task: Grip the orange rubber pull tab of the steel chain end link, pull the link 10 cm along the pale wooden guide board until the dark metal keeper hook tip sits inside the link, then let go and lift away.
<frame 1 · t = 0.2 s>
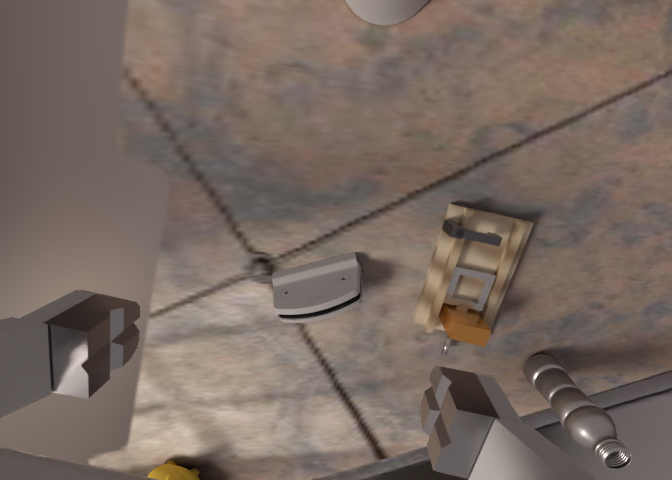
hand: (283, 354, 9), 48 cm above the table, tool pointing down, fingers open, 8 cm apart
teapot: (182, 469, 75), on the table
plastic bottle: (536, 363, 62), on the table
guide board: (467, 273, 58), on the table
grey rounded slab: (319, 280, 60), on the table
chain end link: (464, 319, 55), point 5 cm above the table, slide at 0.0 cm
keeper hook: (471, 233, 52), point 4 cm above the table
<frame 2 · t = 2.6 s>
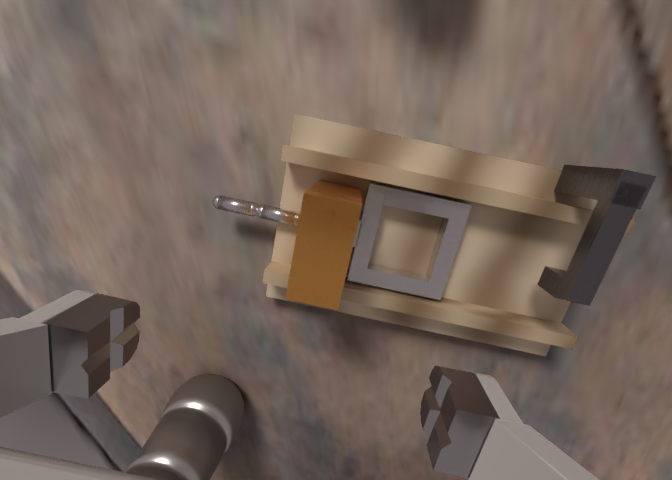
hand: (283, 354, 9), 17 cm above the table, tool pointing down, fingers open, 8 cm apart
plastic bottle: (218, 391, 31), on the table
guide board: (426, 239, 25), on the table
chain end link: (339, 239, 20), point 5 cm above the table, slide at 0.0 cm
keeper hook: (576, 233, 20), point 4 cm above the table
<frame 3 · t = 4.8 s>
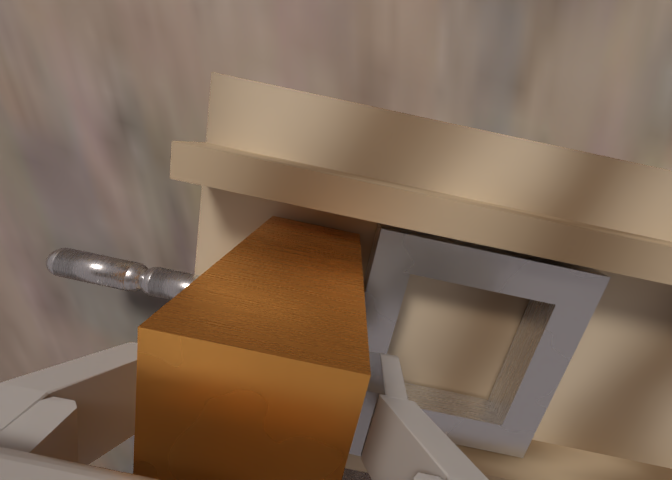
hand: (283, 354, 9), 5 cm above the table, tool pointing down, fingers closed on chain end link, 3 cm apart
guide board: (484, 322, 13), on the table
chain end link: (308, 372, 8), point 5 cm above the table, slide at 0.0 cm, touching gripper
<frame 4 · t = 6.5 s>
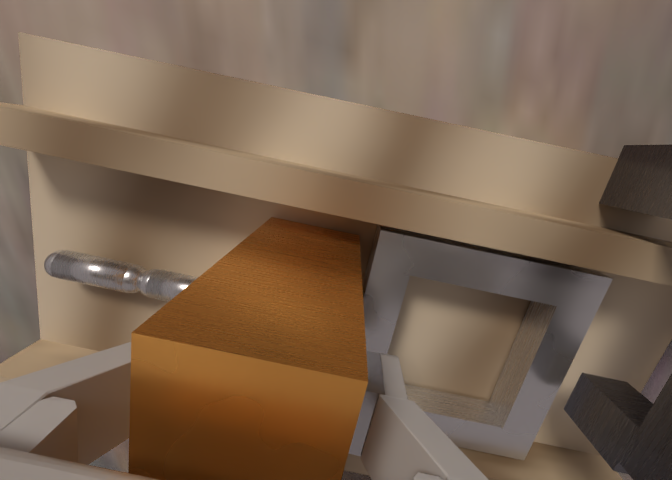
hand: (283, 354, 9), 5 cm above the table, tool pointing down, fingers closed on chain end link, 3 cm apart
guide board: (344, 294, 13), on the table
chain end link: (307, 375, 8), point 5 cm above the table, slide at 5.9 cm, touching gripper
keeper hook: (664, 309, 8), point 4 cm above the table
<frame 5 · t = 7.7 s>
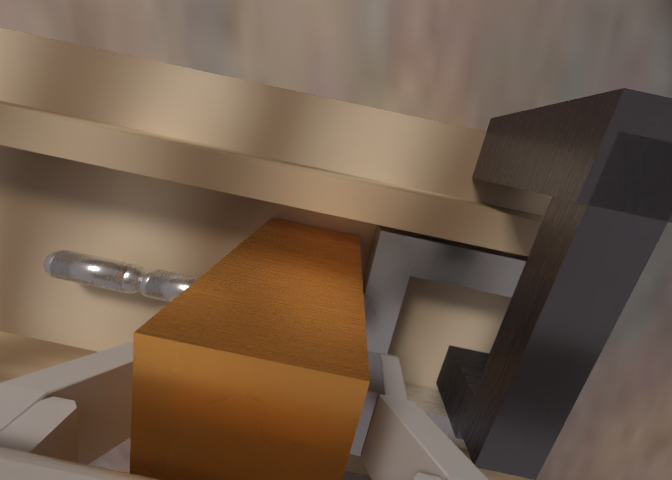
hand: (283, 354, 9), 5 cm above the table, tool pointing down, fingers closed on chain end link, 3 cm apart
guide board: (246, 274, 13), on the table
chain end link: (307, 375, 8), point 5 cm above the table, slide at 10.0 cm, touching gripper
keeper hook: (511, 277, 8), point 4 cm above the table
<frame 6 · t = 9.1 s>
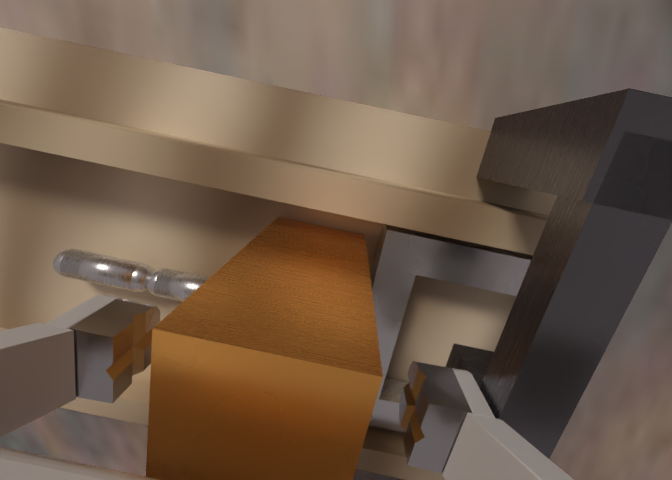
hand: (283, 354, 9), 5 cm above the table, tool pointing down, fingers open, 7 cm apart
guide board: (251, 273, 13), on the table
chain end link: (315, 372, 8), point 5 cm above the table, slide at 10.1 cm
keeper hook: (516, 276, 8), point 4 cm above the table
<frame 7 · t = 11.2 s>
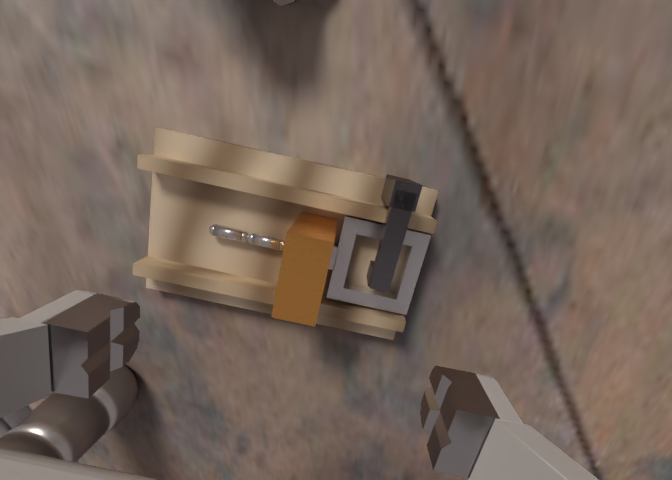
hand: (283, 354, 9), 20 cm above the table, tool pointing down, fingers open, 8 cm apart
plastic bottle: (117, 376, 34), on the table
guide board: (286, 237, 29), on the table
chain end link: (317, 265, 24), point 5 cm above the table, slide at 10.1 cm
keeper hook: (388, 232, 24), point 4 cm above the table
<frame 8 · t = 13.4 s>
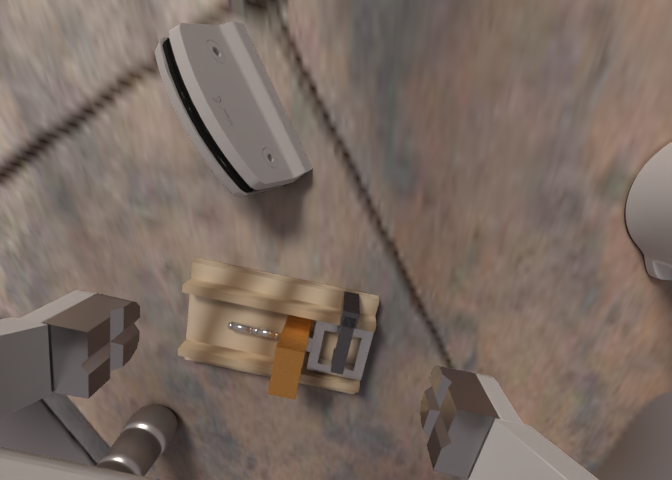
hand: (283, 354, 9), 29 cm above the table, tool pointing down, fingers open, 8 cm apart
plastic bottle: (162, 414, 47), on the table
guide board: (280, 325, 42), on the table
grey rounded slab: (250, 117, 35), on the table
chain end link: (298, 354, 37), point 5 cm above the table, slide at 10.1 cm
keeper hook: (344, 332, 37), point 4 cm above the table
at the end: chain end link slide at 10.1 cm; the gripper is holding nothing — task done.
